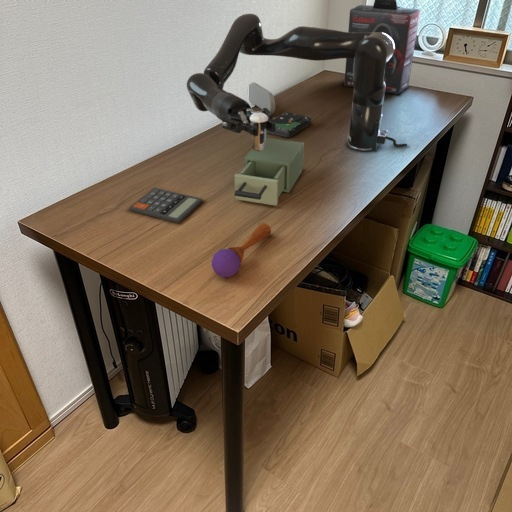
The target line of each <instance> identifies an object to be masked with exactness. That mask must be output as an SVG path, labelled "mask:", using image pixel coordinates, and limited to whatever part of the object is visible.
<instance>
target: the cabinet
mask: <svg viewBox="0 0 512 512" xmlns="http://www.w3.org/2000/svg"><path fill="white" fill-rule="evenodd" d="M304 145H305V143H304V142H299V141H291V140H283V139H277V138H267V137H266V145H265V149H264V150H263V151H255V150H253V148H252V147H251V148H252V149H250V150H249V152H248V153H247V154H246V155H245V157H244V168H245V167H246V165H247V164H248V163H249V162H250V161H256V162H263V163H270V164H277V165H284V166H287V182H286V186H285V188H284V189H283V191H282V193H283V192H284V193H290V192H291V190H292V189H293V187H294V185H295V184H296V182H297V180H298V179H299V177H300V175H301V174H302V172H303V167H304V149H305V148H304V147H305V146H304Z"/></svg>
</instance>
